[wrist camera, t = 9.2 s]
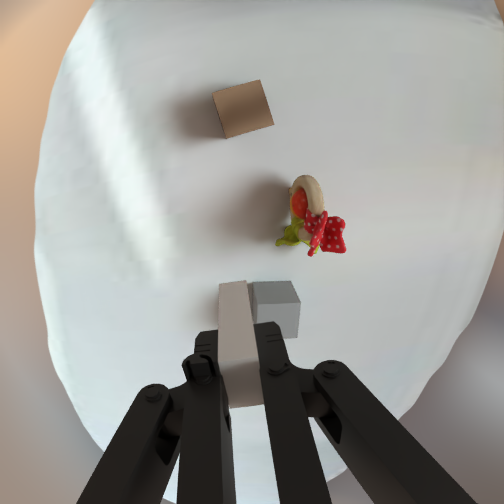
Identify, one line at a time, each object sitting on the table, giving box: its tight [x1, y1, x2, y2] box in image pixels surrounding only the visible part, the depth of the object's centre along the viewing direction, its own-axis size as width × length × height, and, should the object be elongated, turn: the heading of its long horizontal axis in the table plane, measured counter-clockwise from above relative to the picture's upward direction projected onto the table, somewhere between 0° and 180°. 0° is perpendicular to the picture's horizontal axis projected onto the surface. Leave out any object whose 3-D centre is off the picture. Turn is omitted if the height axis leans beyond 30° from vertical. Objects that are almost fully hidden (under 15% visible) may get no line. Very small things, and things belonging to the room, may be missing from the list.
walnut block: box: [212, 80, 274, 139], centre depth 32 cm, size 5×5×5 cm
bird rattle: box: [275, 175, 346, 257], centre depth 34 cm, size 6×11×9 cm
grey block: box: [252, 281, 301, 339], centre depth 40 cm, size 5×5×6 cm
